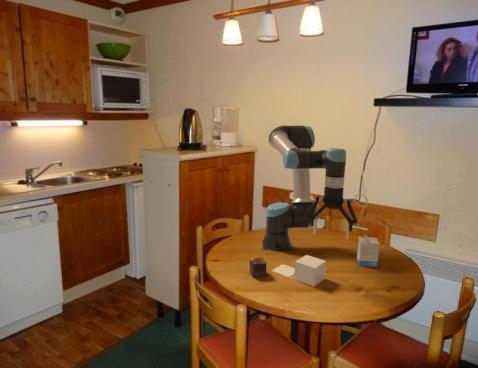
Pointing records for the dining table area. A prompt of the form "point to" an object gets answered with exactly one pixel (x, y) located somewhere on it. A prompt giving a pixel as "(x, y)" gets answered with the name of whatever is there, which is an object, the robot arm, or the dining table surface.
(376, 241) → the ink box
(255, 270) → the box
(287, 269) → the pad
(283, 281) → the dining table surface
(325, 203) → the robot arm
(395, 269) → the dining table surface
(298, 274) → the block
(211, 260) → the dining table surface
